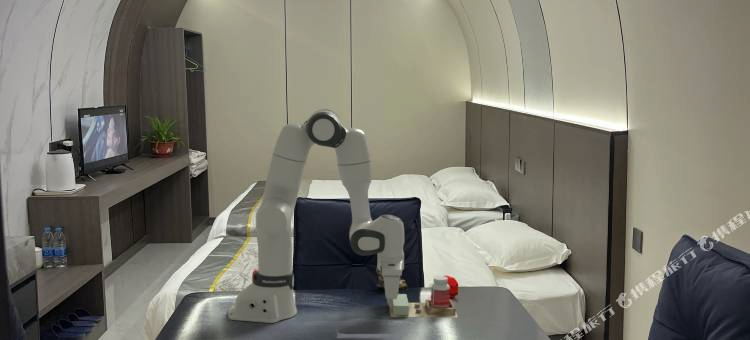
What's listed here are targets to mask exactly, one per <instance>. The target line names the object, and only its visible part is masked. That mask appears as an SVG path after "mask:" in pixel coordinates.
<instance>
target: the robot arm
mask: <svg viewBox="0 0 750 340" xmlns="http://www.w3.org/2000/svg"><path fill="white" fill-rule="evenodd" d="M274 145H275V146H274V148H273V152H272V156H271V159H270V163H269V168H268V172H267V175H266V181H265V185H264V190H263V196H262V199H261V203H260V206H259V208H258V209H257V211H256V214H255V229H256V230H255V231H256V232H255V233H256V241H257V242H256V243H257V259H258V261H257V264H258V265H257V267H258V269H253V271H252V276H251V283H250V284H249V285H247V286H246V287H245V288H243V289H242V290H241V291H240V292H239V293H238V294H237V296H236V297H235V302H234V305H231V307H230V308H229V310H228V311H227V318H228V319H229V320H231V321H232V320H233V321H245V322H255V323H266V324H267V323H269V324H273V323H274V324H275V323H277V322H279V321H282V320H287V319H289V318H292V317H294V316H296V315H297V313H298V309H297V307H296V303H295V295H294V286H295V283H294V282H295V279H294V278H295V277H294V276H295V275H294V271H293V246H292V245H293V243H292V226H291V225H292V217H293V216H294V212H295V209H296V207H295V206H296V203H297V199H298V196H299V190H300V187H301V183H302V179H303V175H304V174H305V173H304V172H305V167H306V164H307V159H308V156H309V154H310V150H311V148H312V146H314V145H317V146H321V147H328V148H332V149H334V150H335V155H336V161H337V167H338V168H337V169H338V173H339V176H340V180H341V183H342V186H344V188H345V190H346V191H347V193H348V196H349V197H348V198H349V202H350V210H351V222H350V226H349V229H348V237H349V244H350V247H351V248H350V249H352V251H353V252H354V253H355V254H357V255H359V256H362V257H364V256H365V257H366V256H371V255H377V256H376V257H377V264H376V265H377V267H376V268H378V269H379V270H380V272H381V274H382V275H383V278H384V285H385V290H384V295H385V299H386V300H387V305H388V306H389V305H393V299H397V296H398V294H399V291H400V290H399V281H400V276H401V277H402V274H403V270H404V269H405V267H404V266H405V252H404V245H405V227H404V222H403V221H402V219H401V218H399V217H398V216H396V215H392V214H381V215H380V216H379V217H378V218H376V219H374V220H373V218H372V216H371V211H370V210H371V209H370V201H369V189H370V188H369V187H370V185H371V183H372V180H373V179H372V177H373V163H372V156H371V155H372V154H371V150H370V146H369V142H368V138H367V136H366V133H365V132H364V131H363V130H362V129H360V128H357V127H345V126H343V123H342V121H341V119H340V117H339V116H338V114H337V113H336V112H334V111H333V110H332V109H331V110H330V109H328V108H327V109H326V108H325V109H319V110H317V111H314V112H313V113H312V114H311V115H310V116H309V118H308V119H307V120H306V121H304V122H303V123H302V124H300V123H298V122H297V123H296V122H292V123H291V122H290V123H287V124H285V125H284V126H283V127H282V128H281V130H280V133H279V135H278V138H277V140H276V142H275V144H274Z"/></svg>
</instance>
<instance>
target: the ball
mask: <svg viewBox="0 0 750 340" xmlns="http://www.w3.org/2000/svg"><path fill="white" fill-rule="evenodd" d="M443 276H444V277H447V278H448V282H447V284H448V285H449V286H450V297H449V299H450V298H455V297H457V296H458V295H459V282H458V281H457V280H456V279H455V278H456V277H453V276H450V275H443Z"/></svg>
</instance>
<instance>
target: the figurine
mask: <svg viewBox="0 0 750 340" xmlns="http://www.w3.org/2000/svg"><path fill="white" fill-rule="evenodd" d="M375 272H376V275H377V276H376V277H377V278H378V282H379V283H378V284H377V283H376V288H375V290H376V291H385V285H384V278H383V275H382V274H381V272H380V270H379V269H378V268H377V267H376V269H375ZM408 287H409V285H408V284H407V283H406V280H405V279H402V275H401V276H400V281H399V290H398V291H409V289H408Z"/></svg>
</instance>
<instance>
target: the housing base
mask: <svg viewBox="0 0 750 340" xmlns="http://www.w3.org/2000/svg"><path fill="white" fill-rule="evenodd" d="M424 300H425V302H408V304H409V315H393V305H388V308H389V309H388V310H389V314H390V315H389V316H390V318H458V317H459V316H458V314H457V310H456V306H455V304H454V301H453V299H449V308H431V299H424Z"/></svg>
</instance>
